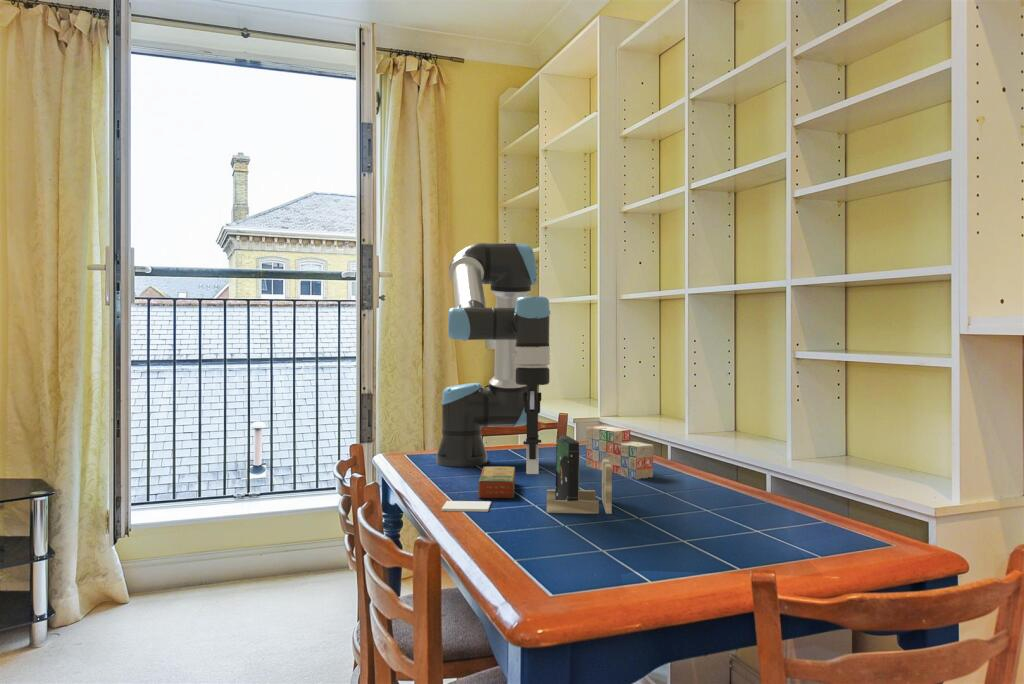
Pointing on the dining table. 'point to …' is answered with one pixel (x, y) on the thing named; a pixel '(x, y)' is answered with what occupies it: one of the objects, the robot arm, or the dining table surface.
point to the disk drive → (567, 468)
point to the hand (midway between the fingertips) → (532, 473)
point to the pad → (467, 506)
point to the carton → (497, 482)
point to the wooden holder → (585, 496)
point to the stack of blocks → (618, 452)
